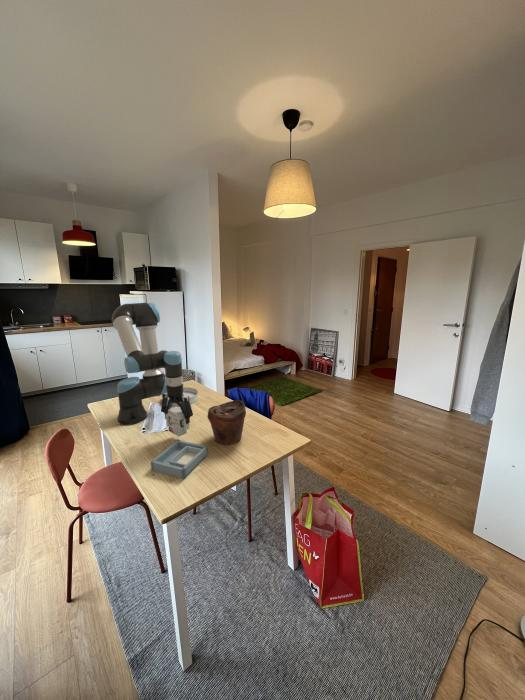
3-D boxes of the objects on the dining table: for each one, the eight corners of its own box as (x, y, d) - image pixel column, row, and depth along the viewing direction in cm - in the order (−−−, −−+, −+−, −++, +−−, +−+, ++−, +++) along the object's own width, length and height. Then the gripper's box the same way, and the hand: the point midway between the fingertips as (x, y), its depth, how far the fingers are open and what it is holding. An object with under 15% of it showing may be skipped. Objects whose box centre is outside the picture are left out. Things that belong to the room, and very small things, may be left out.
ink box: (168, 431, 142) (166, 409, 139) (177, 427, 146) (175, 405, 143) (178, 437, 136) (177, 414, 133) (187, 433, 140) (186, 411, 137)
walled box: (151, 470, 118) (150, 461, 117) (178, 447, 134) (177, 439, 133) (184, 479, 112) (183, 470, 112) (208, 454, 129) (207, 446, 128)
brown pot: (200, 445, 136) (198, 410, 132) (221, 426, 154) (220, 394, 150) (234, 453, 130) (233, 416, 126) (251, 432, 148) (252, 400, 144)
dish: (205, 396, 195) (204, 390, 194) (184, 409, 175) (183, 402, 174) (179, 392, 204) (178, 385, 203) (156, 404, 184) (155, 396, 183)
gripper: (150, 383, 135) (154, 426, 141) (190, 390, 128) (192, 435, 133) (160, 378, 142) (164, 419, 147) (199, 384, 134) (201, 427, 140)
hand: (177, 427), depth 140 cm, fingers closed on ink box, 9 cm apart
